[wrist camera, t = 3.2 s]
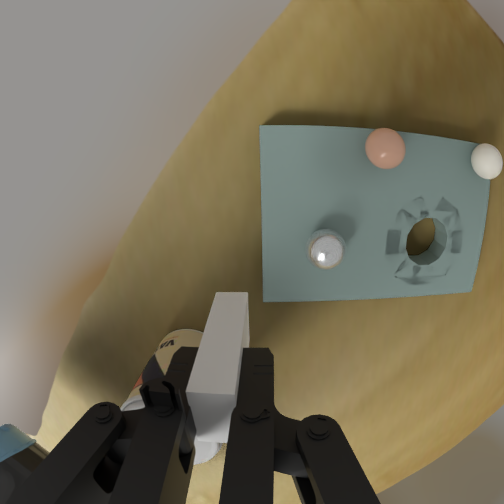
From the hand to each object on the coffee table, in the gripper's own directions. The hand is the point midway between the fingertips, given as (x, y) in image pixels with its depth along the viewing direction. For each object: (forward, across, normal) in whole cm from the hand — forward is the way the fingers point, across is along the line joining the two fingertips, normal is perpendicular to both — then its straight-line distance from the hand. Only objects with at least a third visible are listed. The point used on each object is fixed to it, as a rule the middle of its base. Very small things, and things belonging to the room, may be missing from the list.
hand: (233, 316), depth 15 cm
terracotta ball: (+10, +11, +8) cm, 17 cm away
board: (+14, +12, +2) cm, 19 cm away
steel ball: (+10, +6, 0) cm, 12 cm away
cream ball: (+10, +21, +8) cm, 25 cm away
